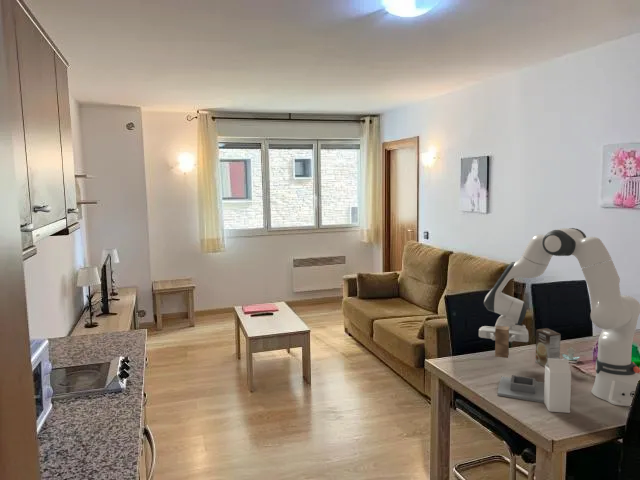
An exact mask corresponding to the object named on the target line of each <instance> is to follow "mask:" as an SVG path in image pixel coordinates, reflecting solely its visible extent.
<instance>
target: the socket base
mask: <svg viewBox="0 0 640 480" xmlns="http://www.w3.org/2000/svg"><path fill="white" fill-rule="evenodd" d="M544 384H545V381H544V382H543V381H539V380H536V378H535V377H528V376H523V375H516V374H515V375H514V374H513V375H511V377H509V376H501V377H500V381H499V385H498V388H497V389H498V390H497V396H499V397H505V398H511V399H518V400H519V399H520V400H524V401H530V402H537V403H544Z"/></svg>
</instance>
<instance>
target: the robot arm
mask: <svg viewBox="0 0 640 480" xmlns="http://www.w3.org/2000/svg"><path fill="white" fill-rule="evenodd" d="M553 256H556V257H563V256H564V257H569V256H573V257H575V258H576V259H577V261H578V263H579V266H580V269H581V271H582V273H583V277H584V278H585V279H584V280H585V282H586V283H587V286H588V290H589V296H590V303H591V311H590V315H589V316H590V320H591V322H592V323H593V324H594V325H595V326H596V327H597V328H599V329H601V332H600V335H599V337H598V340H597V341H598V342H597V345H598V346H597V357H596V359H595V372H596V373H595V379H594V383H593V386H592V388H591V393H592V394H593V395H594V396H595V397H597V398H598V399H600V400H601V399H602V400H604V401H606V402H608V403H609V404H612V405H614V406H622V407H624V406H625V407H631V406H630V404H631V401H632V398H633V395H634V392H635V388H636V386H637V383H638V381H639V380H640V374H639V373H640V367H638V365H637V364H636V363H635V362H634V361H632V348H633V340H634V336H635V333H636V329H637V325H638V320H639V316H640V302H639V300H638V299H636V298H635V297H633V296H630V295H623V294H621V290H620V289H621V288H620V283H621V282H620V281H621V279H620V278H621V277H620V276H619V274H618V271H617V269H616V267H615V266H616V265H615V264H614V261H613V259H612V257H611V255H610V253H609V251H608V249H607V248H606V246H605V244H604V243H603V242H602V240H601V239H600V238H599V237H596V236H588V237H587V235H586V233H584V232H583V231H582V230H581V229H579V228H574V227H570V228H565V227H563V228H557V229H553V230H551V231H549V232H547V233H546V234H536V235H534V236H533V237H531V239H530V240H529V241H528V243H527V245H526V247H525V249H524V250H523V253H522V255H521V257H520V258H519V259H518V260H516V261H512V262H510V263H509V265H507V266H506V268H505V270H504V271H503V272H502V274H501V275H500V276H499V278H498V279H497V281H496V282H495V284H494V285H493V287H492V288H491V290H489V292H488V293H487V294H486V295H485V297H484V300H483V305H484V307H485V308H486V310H487V311H489V312H492V313H495V314H498V315H500V316H499V317H498V318H497V319H496V322H495V325H494V326H488V325H484V326H483V325H482V326H481V327H479V329H478V337H479V338H480V339H491V340H492V341H495V328H496V326H507V327H509V337H508V342H509V343H513V342H522V343H528V342H529V339H530V336H529V330H528V329H527V328H526V325H525V324H522V323H523V322H524V320H525V319H526V318H525V317H526V316H527V315H526V314H527V309H528V308H527V304H526V302H525V301H524V300H521V299H519V298H516V297H513V296H510V295H509V294H506V293H503V292H502V291H503V290H504V288H505V286H507V284H508V282H509V281H510V280H512V279H517V278H522V279H534V278H538V277H540V276H542V275H543V274H544V273H545V271H546V269H547V268H548V266H549V263H550V261H551V260H552V257H553Z"/></svg>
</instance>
